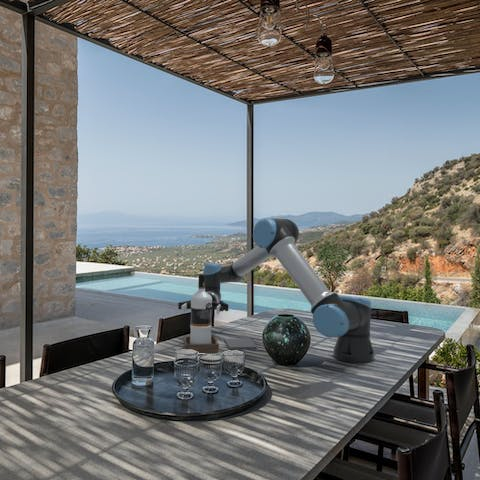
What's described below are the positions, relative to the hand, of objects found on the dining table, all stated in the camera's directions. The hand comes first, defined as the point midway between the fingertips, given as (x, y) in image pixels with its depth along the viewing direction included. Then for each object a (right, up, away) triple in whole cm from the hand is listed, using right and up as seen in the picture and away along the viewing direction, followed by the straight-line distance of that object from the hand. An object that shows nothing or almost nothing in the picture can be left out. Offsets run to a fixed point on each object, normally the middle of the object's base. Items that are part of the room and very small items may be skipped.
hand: (199, 310), depth 177 cm
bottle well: (0, -16, +4) cm, 17 cm away
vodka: (0, -17, +4) cm, 17 cm away
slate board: (+15, -16, +14) cm, 26 cm away
